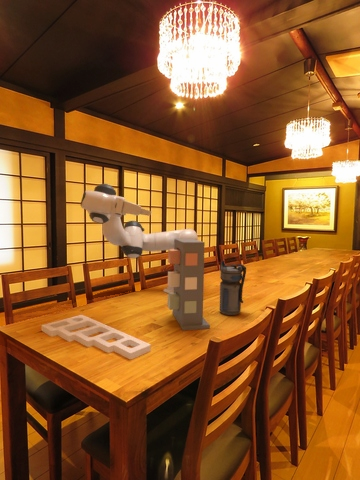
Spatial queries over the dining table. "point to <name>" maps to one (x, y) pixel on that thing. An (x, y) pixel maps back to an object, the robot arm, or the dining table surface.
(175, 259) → the top terracotta button
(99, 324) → the holder
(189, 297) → the button panel
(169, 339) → the dining table surface
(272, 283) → the dining table surface
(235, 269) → the beverage bottle
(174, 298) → the bottom sage button
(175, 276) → the middle cream button
